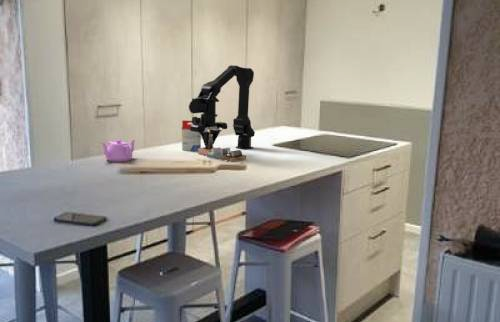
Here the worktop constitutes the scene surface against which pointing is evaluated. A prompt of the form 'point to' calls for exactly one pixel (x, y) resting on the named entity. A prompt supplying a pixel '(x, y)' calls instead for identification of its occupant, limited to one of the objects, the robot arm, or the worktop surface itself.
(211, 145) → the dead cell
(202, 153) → the salmon pink square tray
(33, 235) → the worktop surface
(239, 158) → the trough
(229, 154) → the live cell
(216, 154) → the grey flat block
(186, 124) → the ink box
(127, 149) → the teapot
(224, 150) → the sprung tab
